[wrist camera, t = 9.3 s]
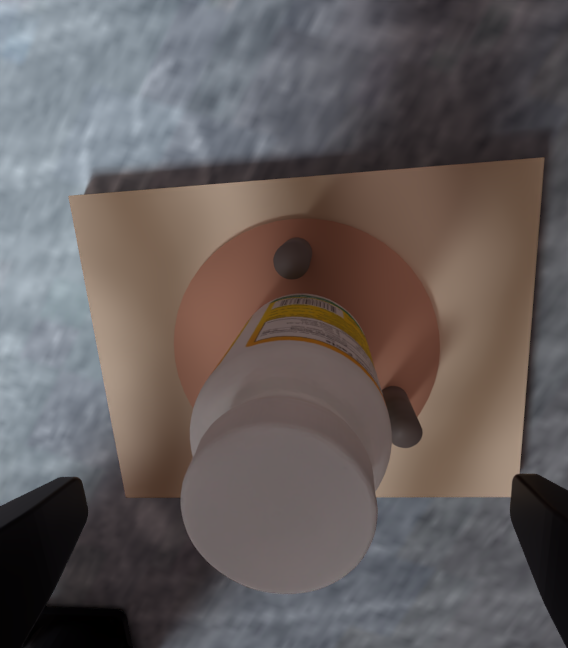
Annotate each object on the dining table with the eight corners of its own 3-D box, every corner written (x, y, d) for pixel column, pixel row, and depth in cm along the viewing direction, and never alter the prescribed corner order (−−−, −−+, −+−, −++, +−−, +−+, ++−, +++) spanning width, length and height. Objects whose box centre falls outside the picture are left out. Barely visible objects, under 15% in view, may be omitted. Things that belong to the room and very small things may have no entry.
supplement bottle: (320, 265, 17) (317, 333, 7) (392, 373, 18) (471, 555, 8) (212, 337, 18) (93, 475, 9) (285, 435, 19) (248, 656, 9)
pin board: (134, 484, 22) (93, 544, 18) (82, 196, 18) (16, 193, 14) (508, 483, 20) (553, 549, 16) (531, 160, 16) (596, 144, 12)
